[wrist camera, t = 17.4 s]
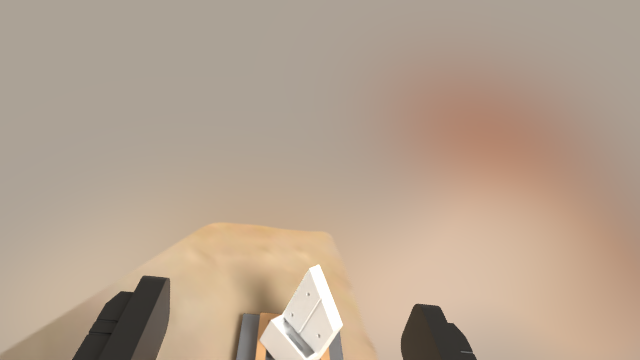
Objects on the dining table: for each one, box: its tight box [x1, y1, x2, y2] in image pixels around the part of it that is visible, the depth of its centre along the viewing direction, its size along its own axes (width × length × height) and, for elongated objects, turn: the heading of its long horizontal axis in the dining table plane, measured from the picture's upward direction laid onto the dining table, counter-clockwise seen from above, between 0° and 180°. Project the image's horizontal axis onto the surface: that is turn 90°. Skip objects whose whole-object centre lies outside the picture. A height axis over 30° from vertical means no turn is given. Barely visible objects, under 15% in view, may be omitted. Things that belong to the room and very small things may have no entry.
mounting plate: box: [236, 312, 343, 360], centre depth 41 cm, size 12×12×2 cm
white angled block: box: [260, 265, 343, 360], centre depth 40 cm, size 4×10×9 cm
